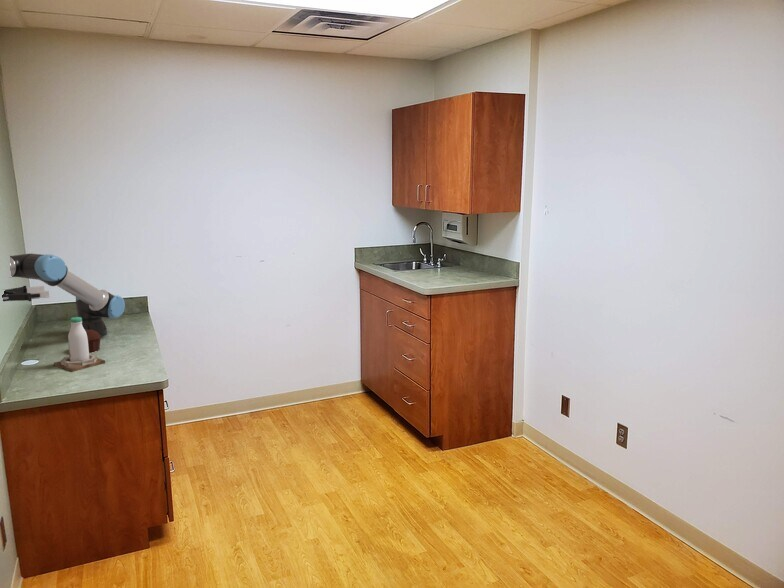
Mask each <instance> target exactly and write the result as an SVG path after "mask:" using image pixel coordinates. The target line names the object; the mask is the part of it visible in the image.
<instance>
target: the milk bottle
mask: <svg viewBox="0 0 784 588" xmlns="http://www.w3.org/2000/svg"><path fill="white" fill-rule="evenodd" d="M69 321H70V324H71V325H70V329H69V332H68V336H67V341H68V353H69V354H68V355H69V356H70V362H79V361H85V360H88V359H89V347H88V338H87V333H86V331H85V330H84V328H83V326H82V318H81V317H77V316H76V317H71V318H70V320H69Z"/></svg>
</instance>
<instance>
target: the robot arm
mask: <svg viewBox="0 0 784 588" xmlns="http://www.w3.org/2000/svg"><path fill="white" fill-rule="evenodd" d="M9 256H10V271H11V276H12V277H11V278H21V279H30V280H38V281H41V282H43V283H44V284H45V285H48V286H50V287H56V286H57V287H58V288H60V289H61V290H63V291H65V292H67V293H68V294H70V295H71V296H74V297H75V308H76V309H75V310H76V317H81V318H82V326H83V328H84V330H94V331H96V332H98V333H99V334H100V335H101V337H102V335H103V336H105V335H108V328H107V326H106V324H105V322H104V320H103V318H108V319H117V318H118V319H119V318H120V317H122V315H123V314H124V311H125V308H126V304H125V303H126V302H125V300H124V298H123V297H122V296H120V295H115V294H112V293H110V292H109V291H107V290H105V289H98V288H96V287H95V286H93V285H92V284H90V283H89V282H87V281H86V280H83V279H82V278H81V277H79V276H77V275H76V274H74V273H72V272H71V271H69V269H68V266H67V264H66V262H65V260H63V258H61V257H59V256H57V255H54V254H40V253H23V254H15V255H9ZM45 285H38V286H36V285H35V286H27V285H23V286H20V287H13V288H8V289H4V290H5V291H4V294H3V295H2V298H3V300H2V301H3V302H13V301H17V302H19V301H23V302H24V301H28V302H32V300H35V299H47V298H50V292H49V290H45Z"/></svg>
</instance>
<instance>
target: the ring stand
mask: <svg viewBox="0 0 784 588" xmlns="http://www.w3.org/2000/svg"><path fill="white" fill-rule="evenodd" d="M102 363H103V364H106V360H104V359H102V358H98V355H96V354H93V353H89V359H88V360H85V361H79V362H70V355H67V356H64V357H63V358H62V359H61V360H60V361H55V362H53V366H54V365H55V366H54V367H57V366H58V367H57V368H60V367H61V369H63V370H66V371H69V372H77V371H80V370H84V369H88V368H91V367H96V366H99V365H103V364H102Z"/></svg>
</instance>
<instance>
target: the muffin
mask: <svg viewBox="0 0 784 588" xmlns="http://www.w3.org/2000/svg"><path fill="white" fill-rule="evenodd" d="M85 331H86V333H87V338H88V347H89V353H90V354H93V353H92V352H94V353H96V352H95V351H97V352H99V351H100V349H101V348H100V346H101V337H102V336H101V335H100V334H99V333H98V332H96V331H94V330H85Z"/></svg>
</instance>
